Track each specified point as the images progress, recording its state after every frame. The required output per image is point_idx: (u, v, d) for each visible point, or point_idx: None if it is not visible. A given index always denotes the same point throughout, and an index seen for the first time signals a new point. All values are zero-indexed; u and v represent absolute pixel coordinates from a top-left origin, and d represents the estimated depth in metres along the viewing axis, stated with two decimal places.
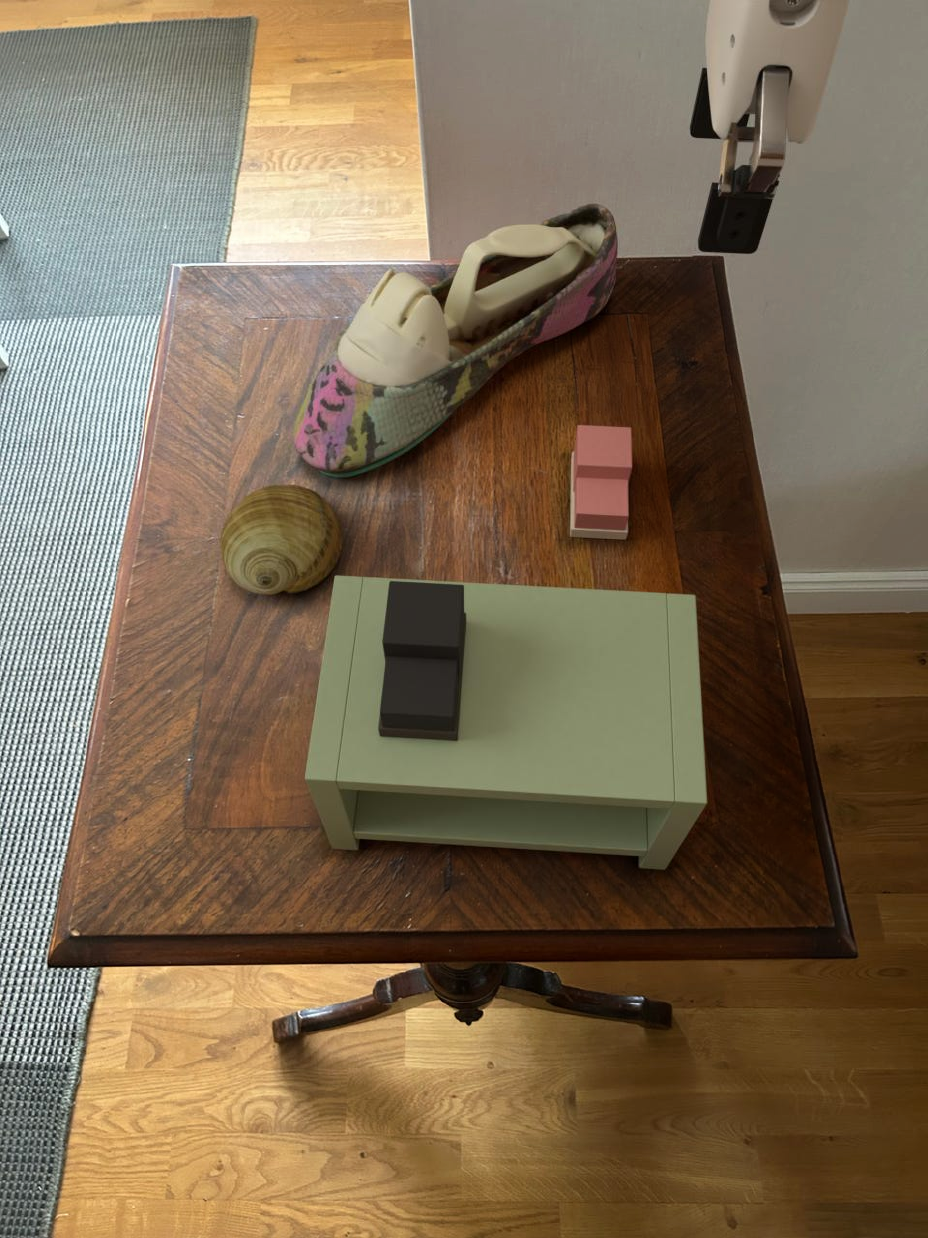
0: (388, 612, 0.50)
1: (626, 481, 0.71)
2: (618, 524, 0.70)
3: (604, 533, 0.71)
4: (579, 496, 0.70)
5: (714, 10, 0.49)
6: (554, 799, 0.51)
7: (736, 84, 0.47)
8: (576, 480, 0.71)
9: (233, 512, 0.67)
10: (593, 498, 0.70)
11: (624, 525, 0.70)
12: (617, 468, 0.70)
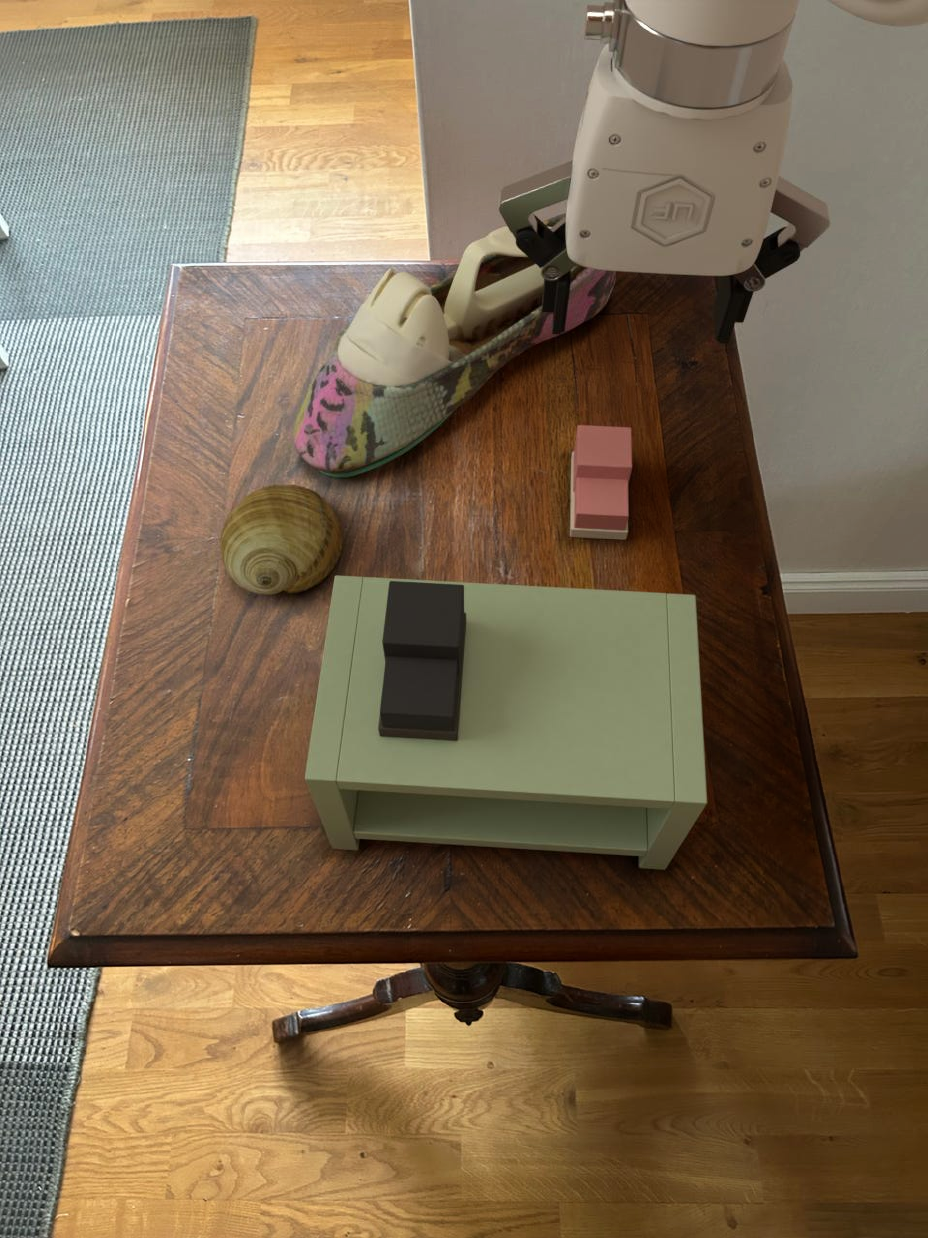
0: (388, 612, 0.50)
1: (626, 481, 0.71)
2: (618, 524, 0.70)
3: (604, 533, 0.71)
4: (579, 496, 0.70)
5: None
6: (554, 799, 0.51)
7: None
8: (576, 480, 0.71)
9: (233, 512, 0.67)
10: (593, 498, 0.70)
11: (624, 525, 0.70)
12: (617, 468, 0.70)
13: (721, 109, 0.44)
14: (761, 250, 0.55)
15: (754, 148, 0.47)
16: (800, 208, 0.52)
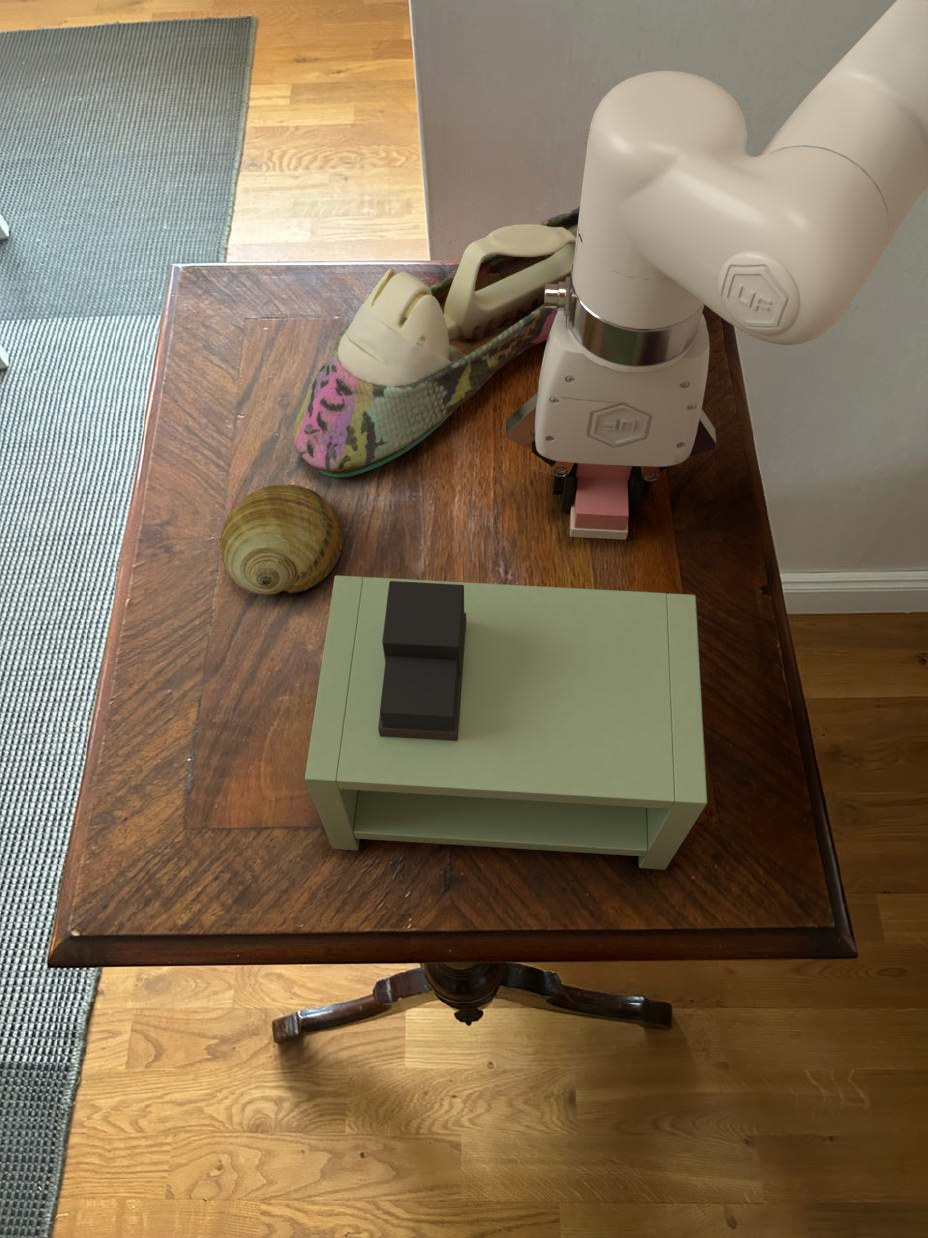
0: (388, 612, 0.50)
1: (626, 481, 0.71)
2: (618, 524, 0.70)
3: (604, 533, 0.71)
4: (579, 496, 0.70)
5: None
6: (554, 799, 0.51)
7: None
8: (576, 480, 0.71)
9: (233, 512, 0.67)
10: (593, 498, 0.70)
11: (624, 525, 0.70)
12: (617, 468, 0.70)
13: (651, 366, 0.56)
14: None
15: (680, 384, 0.59)
16: (702, 430, 0.65)
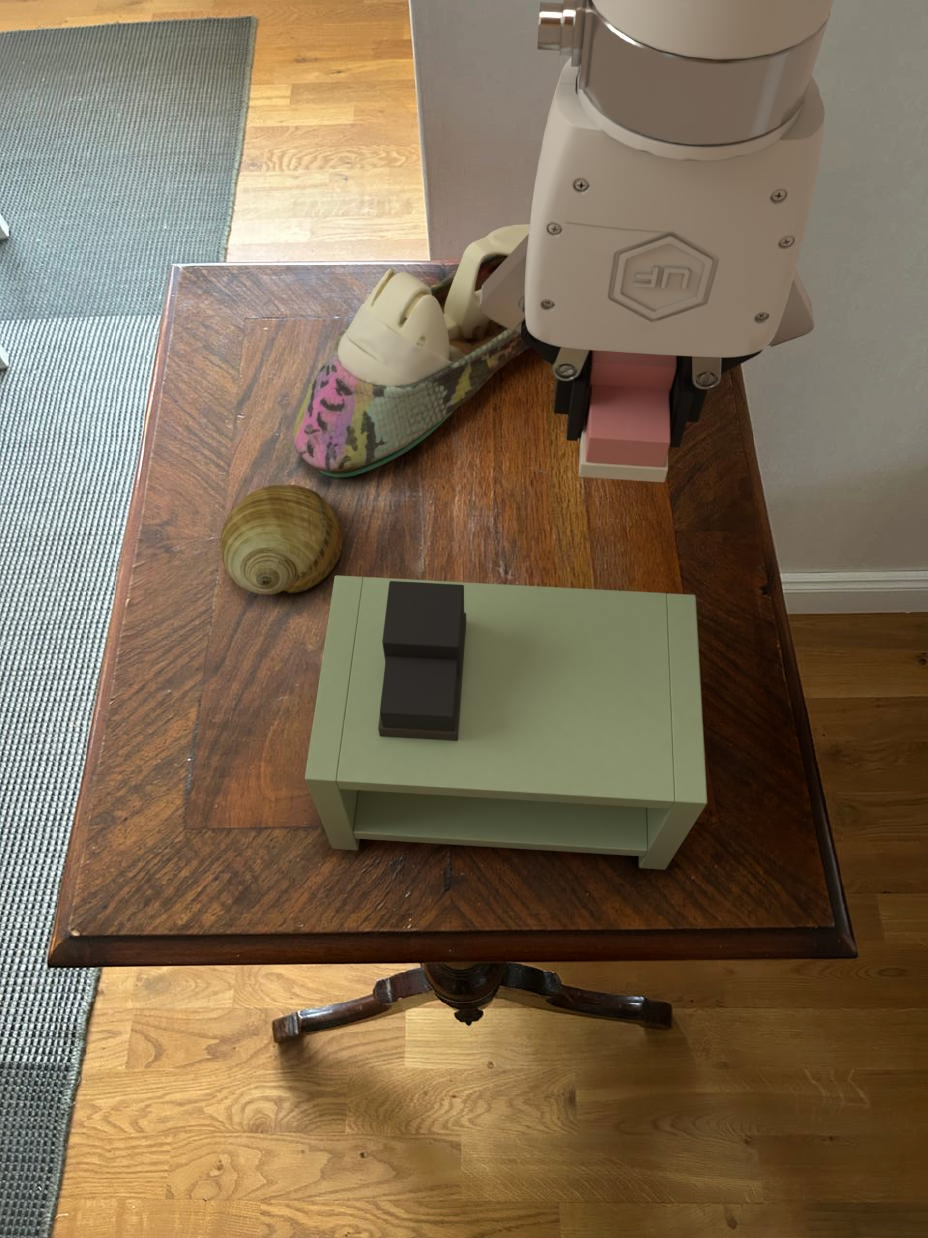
0: (388, 612, 0.50)
1: (667, 391, 0.46)
2: (653, 456, 0.46)
3: (631, 472, 0.47)
4: (594, 412, 0.46)
5: None
6: (554, 799, 0.51)
7: None
8: (590, 389, 0.47)
9: (233, 512, 0.67)
10: (615, 415, 0.45)
11: (663, 458, 0.46)
12: (653, 370, 0.45)
13: (725, 146, 0.32)
14: None
15: (771, 197, 0.35)
16: (795, 299, 0.41)
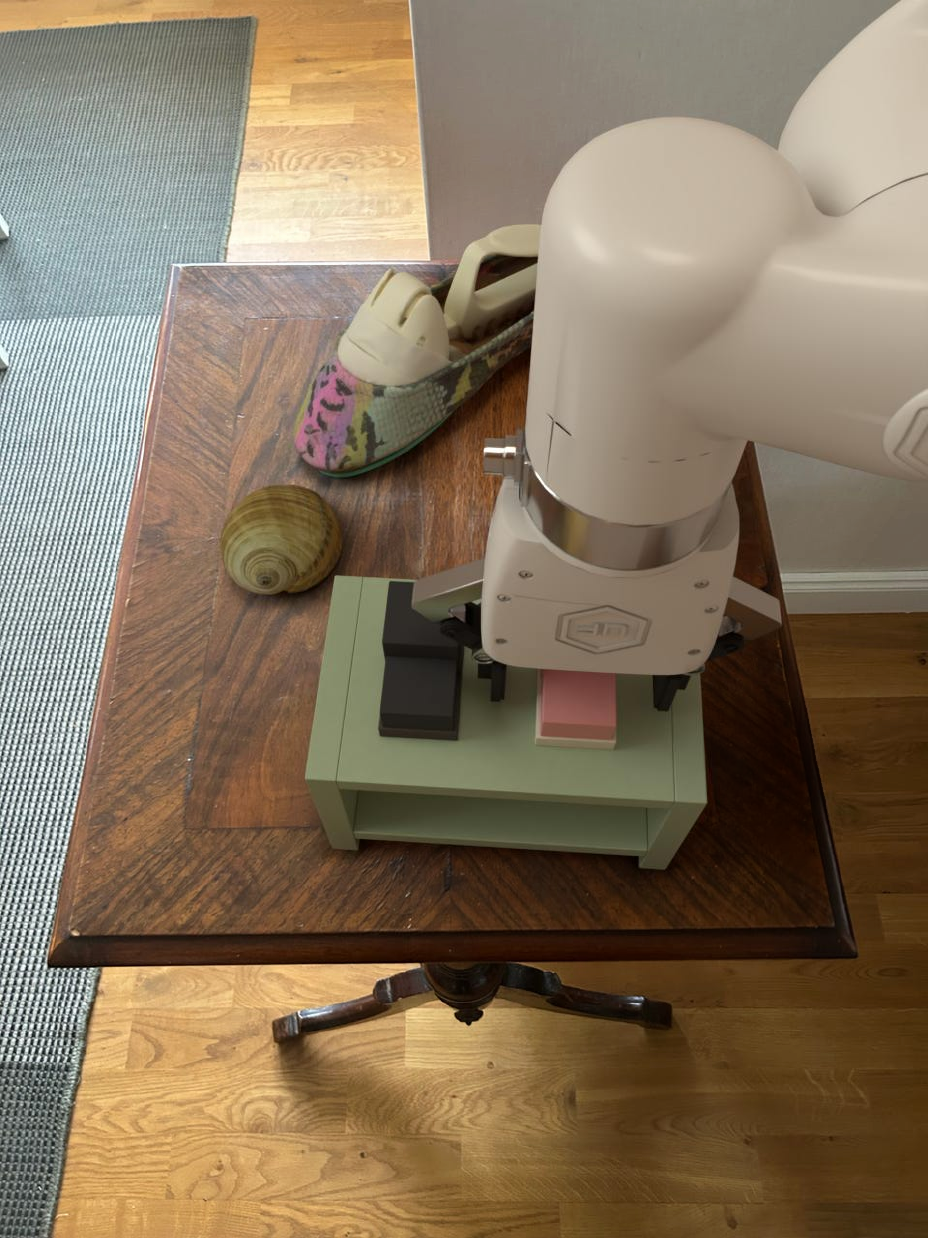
0: (388, 612, 0.50)
1: None
2: (602, 734, 0.50)
3: (582, 743, 0.51)
4: (546, 695, 0.50)
5: None
6: (554, 799, 0.51)
7: None
8: None
9: (233, 512, 0.67)
10: (566, 697, 0.49)
11: (611, 735, 0.50)
12: None
13: (650, 569, 0.36)
14: None
15: (695, 584, 0.39)
16: (750, 612, 0.44)
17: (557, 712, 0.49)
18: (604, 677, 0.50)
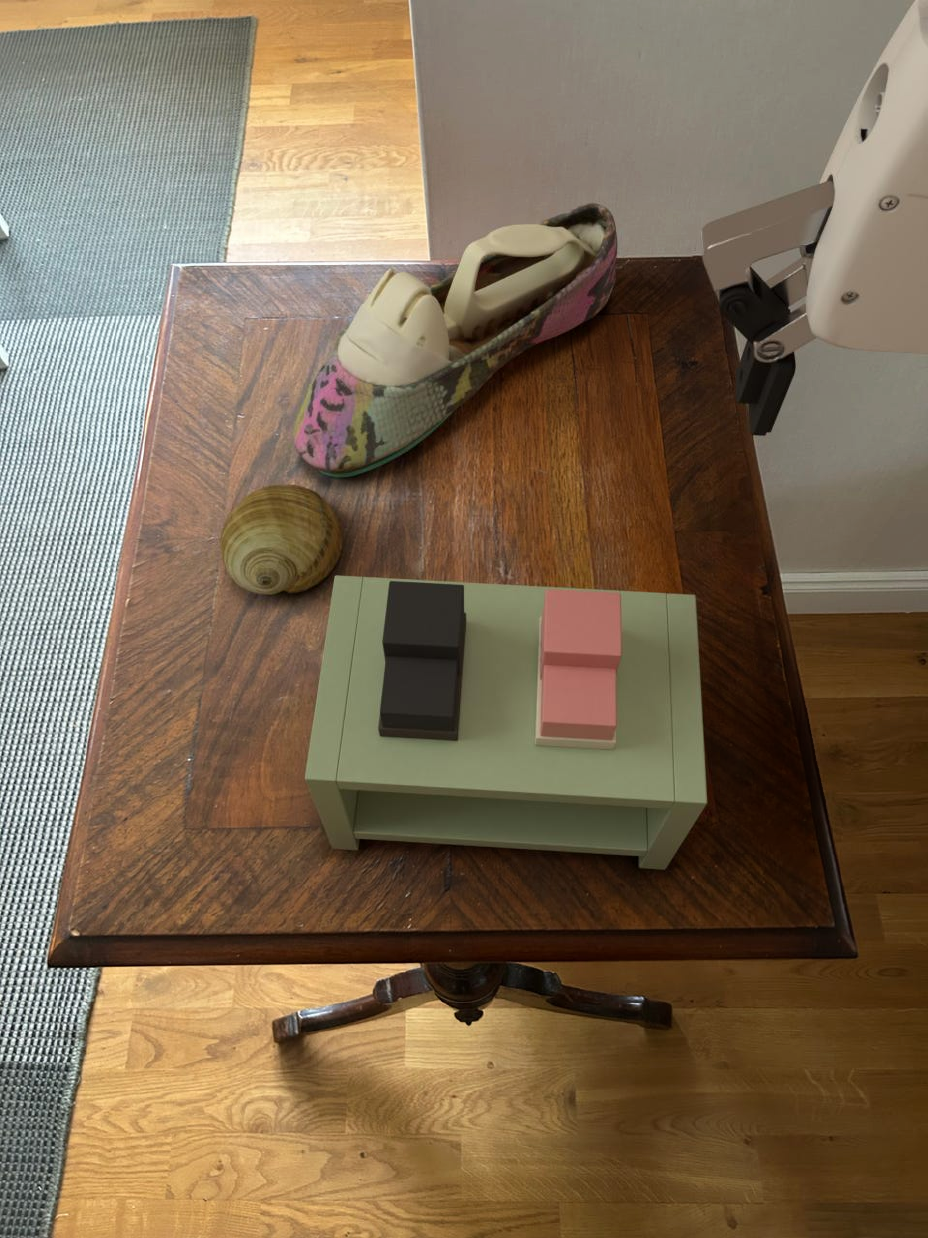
0: (388, 612, 0.50)
1: (613, 671, 0.50)
2: (602, 734, 0.50)
3: (582, 743, 0.51)
4: (546, 695, 0.50)
5: None
6: (554, 799, 0.51)
7: (821, 179, 0.33)
8: (543, 668, 0.50)
9: (233, 512, 0.67)
10: (566, 697, 0.49)
11: (611, 735, 0.50)
12: (600, 656, 0.49)
13: None
14: None
15: None
16: None
17: (557, 712, 0.49)
18: (604, 677, 0.50)
